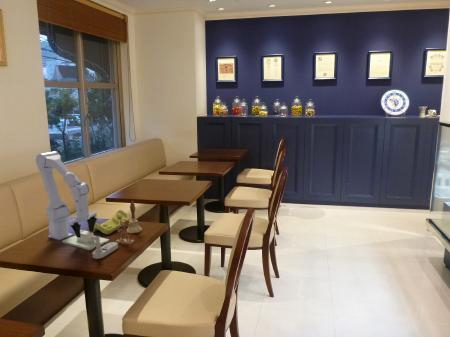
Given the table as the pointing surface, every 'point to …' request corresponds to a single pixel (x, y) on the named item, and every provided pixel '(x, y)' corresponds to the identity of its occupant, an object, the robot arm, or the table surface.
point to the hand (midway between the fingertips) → (85, 234)
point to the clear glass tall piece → (122, 240)
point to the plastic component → (111, 223)
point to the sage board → (84, 243)
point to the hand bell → (133, 221)
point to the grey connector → (86, 236)
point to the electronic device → (103, 248)
